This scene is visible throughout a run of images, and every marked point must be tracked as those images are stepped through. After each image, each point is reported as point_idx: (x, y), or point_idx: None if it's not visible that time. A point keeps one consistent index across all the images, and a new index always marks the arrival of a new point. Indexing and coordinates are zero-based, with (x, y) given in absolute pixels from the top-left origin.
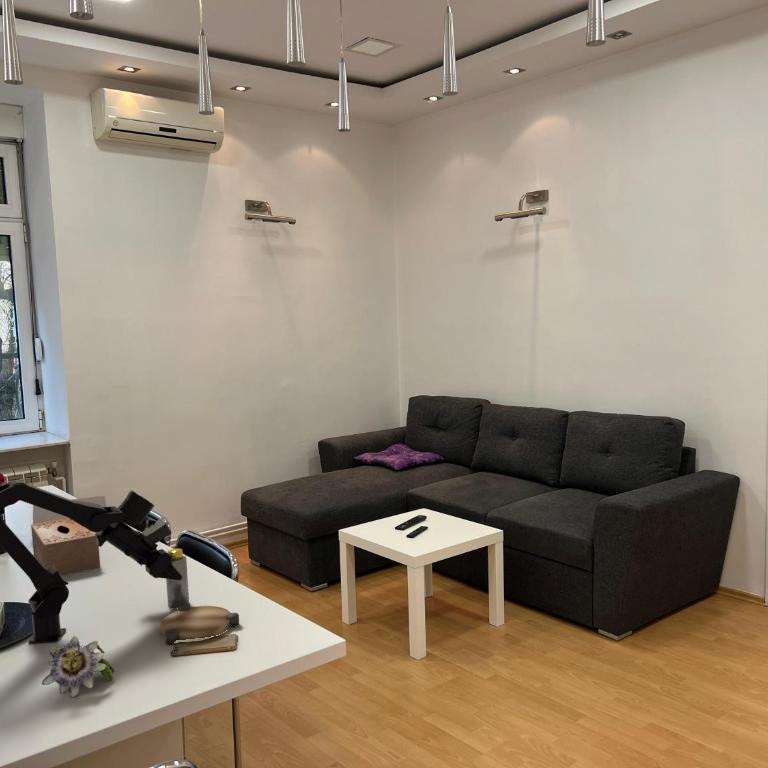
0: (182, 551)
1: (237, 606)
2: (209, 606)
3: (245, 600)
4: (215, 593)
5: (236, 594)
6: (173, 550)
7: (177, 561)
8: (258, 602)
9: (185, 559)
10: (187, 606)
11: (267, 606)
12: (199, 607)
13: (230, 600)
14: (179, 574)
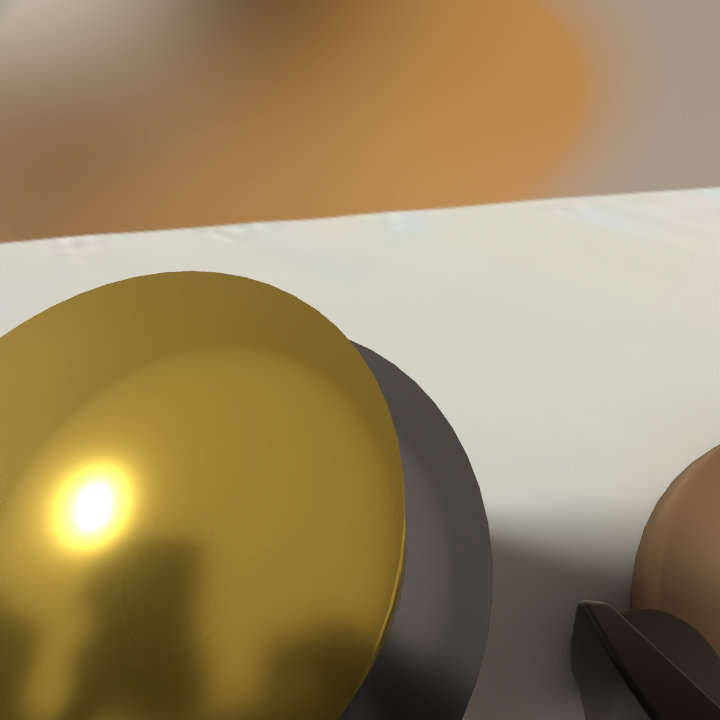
0: (288, 311)
1: (625, 314)
2: (718, 474)
3: (557, 256)
4: (345, 328)
5: (440, 259)
6: (14, 520)
7: (476, 602)
8: (625, 224)
9: (404, 381)
10: (673, 643)
11: (708, 213)
12: (703, 548)
13: (506, 309)
14: (675, 680)
